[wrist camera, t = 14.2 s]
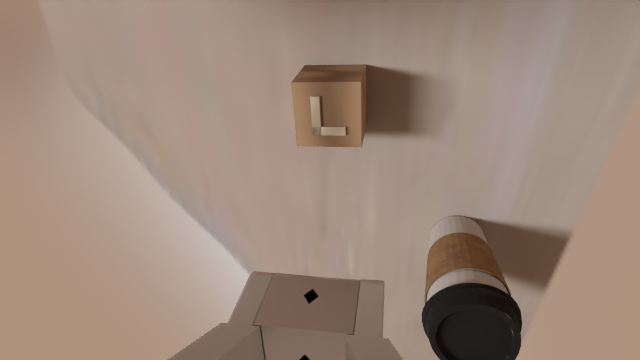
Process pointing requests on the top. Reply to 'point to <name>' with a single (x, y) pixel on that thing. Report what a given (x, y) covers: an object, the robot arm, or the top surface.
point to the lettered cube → (330, 105)
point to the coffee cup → (468, 296)
